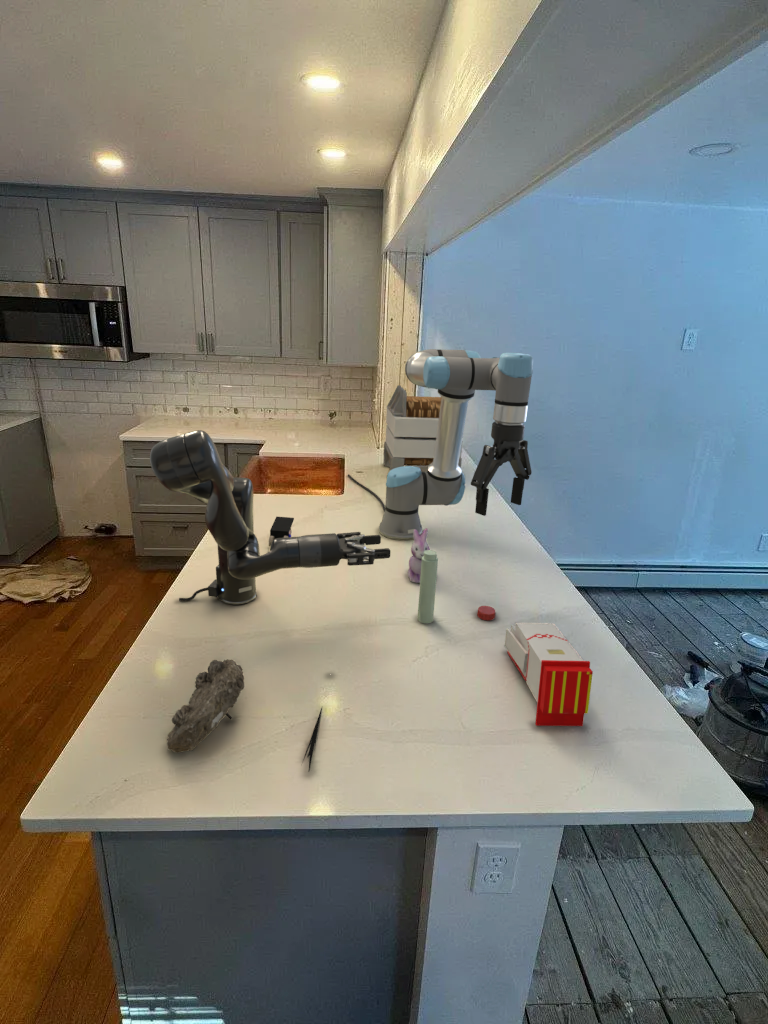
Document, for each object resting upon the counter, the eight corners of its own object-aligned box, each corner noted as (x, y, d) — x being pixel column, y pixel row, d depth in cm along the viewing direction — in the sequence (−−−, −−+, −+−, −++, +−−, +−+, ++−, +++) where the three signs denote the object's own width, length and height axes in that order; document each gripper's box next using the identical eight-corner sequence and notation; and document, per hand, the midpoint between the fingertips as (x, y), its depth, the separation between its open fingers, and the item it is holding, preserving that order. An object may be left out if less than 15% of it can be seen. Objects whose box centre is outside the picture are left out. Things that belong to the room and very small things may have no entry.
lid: (484, 622, 146) (484, 615, 145) (473, 613, 149) (474, 607, 149) (498, 618, 148) (499, 612, 147) (487, 610, 151) (488, 604, 151)
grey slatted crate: (382, 463, 289) (386, 382, 275) (445, 464, 293) (451, 384, 279) (390, 482, 257) (394, 392, 243) (460, 483, 261) (468, 394, 247)
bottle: (433, 616, 147) (438, 549, 141) (433, 624, 144) (438, 556, 137) (417, 614, 148) (422, 548, 141) (417, 622, 144) (422, 555, 137)
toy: (550, 607, 134) (601, 667, 105) (545, 659, 137) (594, 732, 108) (499, 606, 134) (537, 666, 104) (495, 659, 137) (530, 731, 107)
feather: (331, 679, 122) (336, 673, 122) (307, 777, 96) (313, 769, 95) (324, 675, 122) (329, 669, 121) (298, 772, 95) (304, 764, 95)
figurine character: (289, 557, 180) (295, 534, 194) (288, 536, 177) (294, 515, 190) (268, 557, 180) (275, 534, 193) (266, 536, 177) (274, 514, 190)
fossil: (192, 660, 117) (244, 628, 112) (224, 691, 120) (276, 661, 115) (142, 746, 98) (202, 712, 93) (182, 779, 101) (242, 748, 96)
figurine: (415, 586, 162) (419, 538, 157) (398, 572, 170) (401, 525, 165) (443, 581, 166) (447, 533, 161) (425, 567, 175) (428, 521, 170)
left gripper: (322, 547, 123) (394, 542, 127) (312, 524, 135) (377, 521, 140) (322, 578, 125) (392, 572, 129) (312, 553, 138) (376, 549, 142)
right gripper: (527, 415, 142) (517, 495, 149) (460, 424, 126) (452, 514, 133) (553, 420, 136) (541, 503, 144) (486, 430, 121) (477, 523, 128)
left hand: (385, 545), depth 135 cm, fingers open, 8 cm apart
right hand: (498, 508), depth 139 cm, fingers open, 13 cm apart
